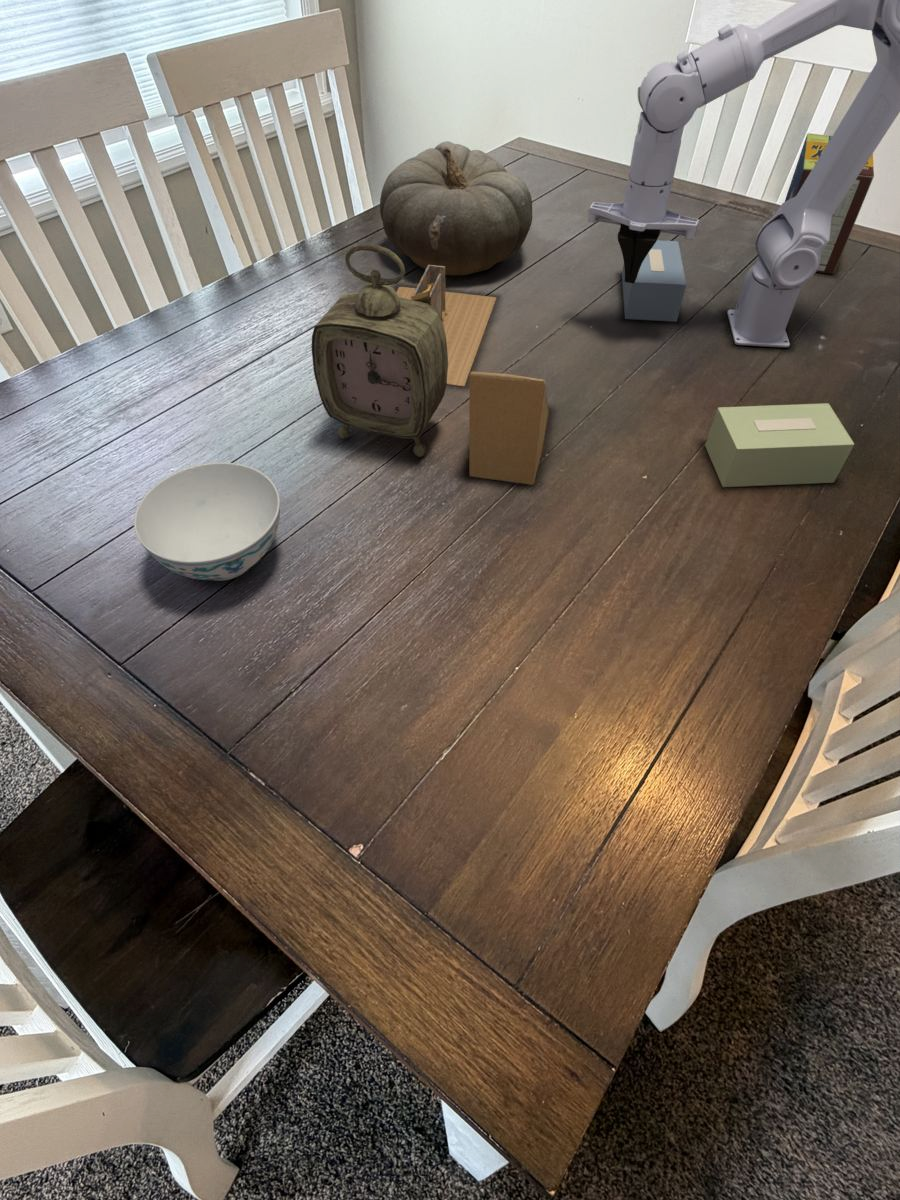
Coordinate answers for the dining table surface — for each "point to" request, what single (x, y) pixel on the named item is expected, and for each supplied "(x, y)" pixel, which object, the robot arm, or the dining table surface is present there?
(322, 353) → the tabletop clock
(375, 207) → the dining table surface
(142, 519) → the chinaware
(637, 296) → the back tissue box
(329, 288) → the dining table surface
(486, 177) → the gourd
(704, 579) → the dining table surface
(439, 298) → the architectural model on board
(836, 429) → the front tissue box
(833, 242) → the protein box
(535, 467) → the sandwich container
